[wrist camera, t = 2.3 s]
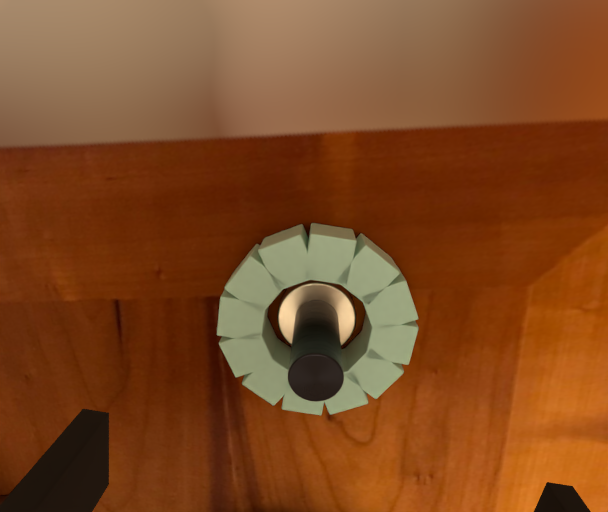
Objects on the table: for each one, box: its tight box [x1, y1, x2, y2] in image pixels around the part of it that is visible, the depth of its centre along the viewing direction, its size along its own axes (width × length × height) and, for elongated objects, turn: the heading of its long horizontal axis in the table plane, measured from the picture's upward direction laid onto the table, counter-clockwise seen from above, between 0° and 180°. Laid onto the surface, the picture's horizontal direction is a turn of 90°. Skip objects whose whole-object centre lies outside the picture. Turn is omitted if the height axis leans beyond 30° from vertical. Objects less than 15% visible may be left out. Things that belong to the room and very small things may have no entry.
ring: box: [217, 223, 419, 415], centre depth 22 cm, size 10×10×2 cm
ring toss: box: [277, 280, 356, 402], centre depth 20 cm, size 4×4×6 cm
